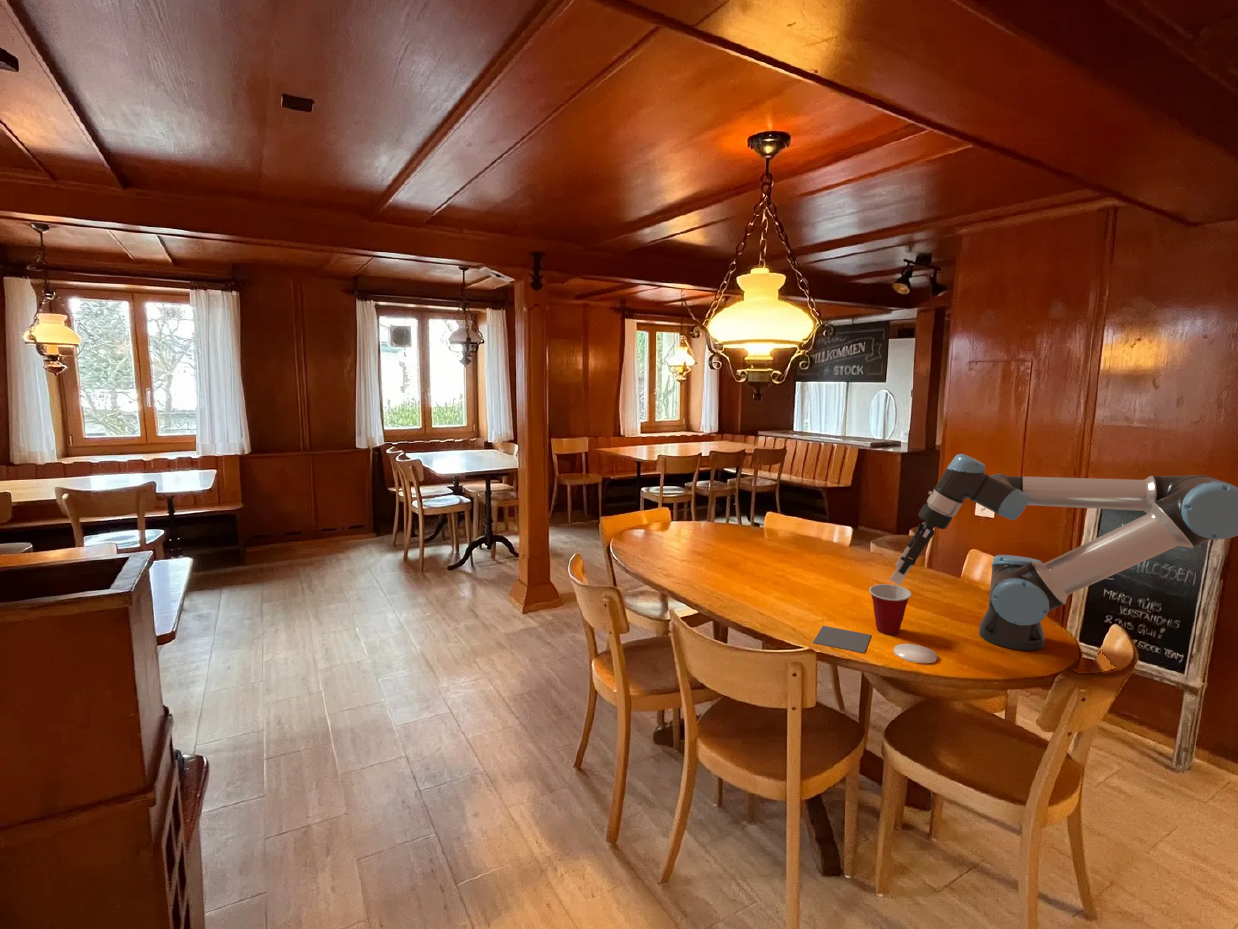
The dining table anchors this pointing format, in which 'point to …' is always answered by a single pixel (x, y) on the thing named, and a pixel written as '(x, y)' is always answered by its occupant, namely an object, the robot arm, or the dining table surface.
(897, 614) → the plastic cup
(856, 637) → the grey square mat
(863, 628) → the dining table surface
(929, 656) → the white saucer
